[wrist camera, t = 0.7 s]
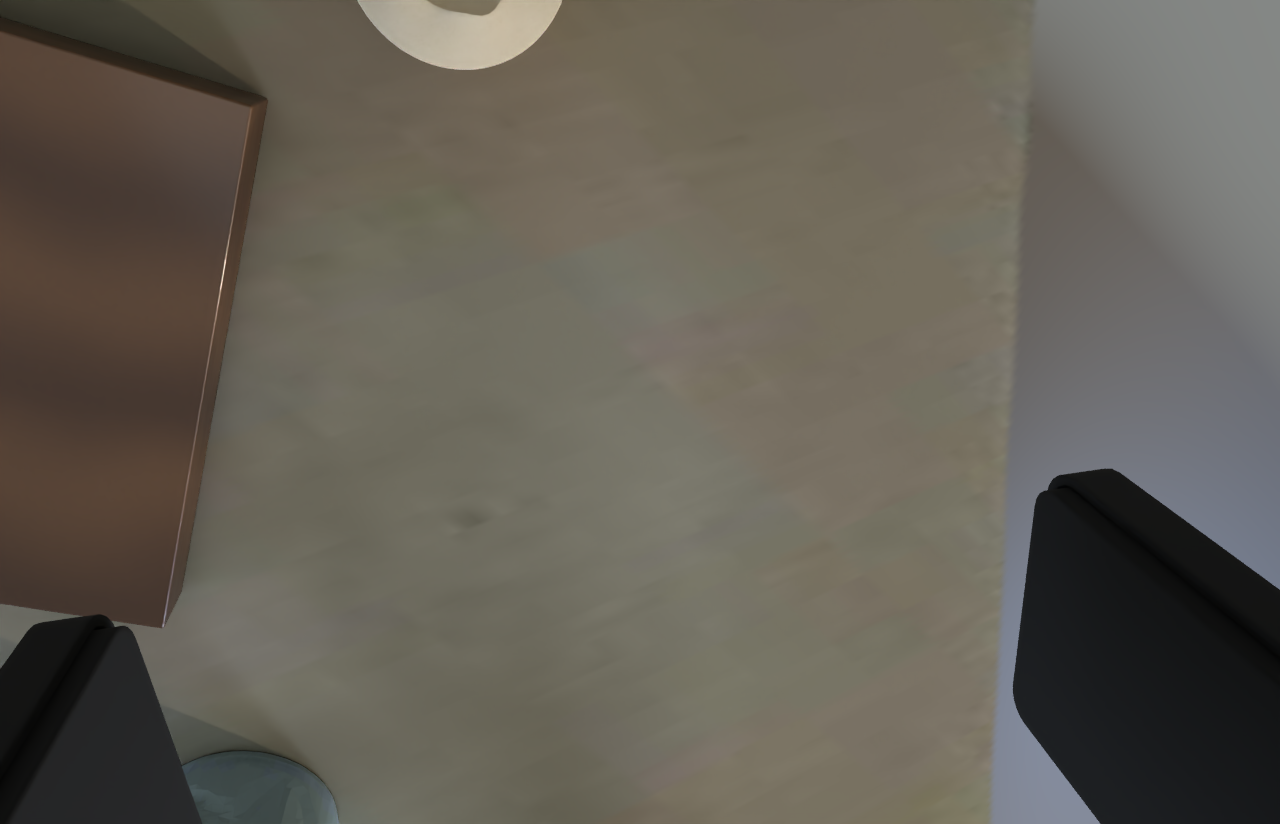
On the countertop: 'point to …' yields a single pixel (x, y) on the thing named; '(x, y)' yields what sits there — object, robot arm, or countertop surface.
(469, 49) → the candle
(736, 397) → the countertop surface
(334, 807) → the embossed blue pot
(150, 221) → the serving board
